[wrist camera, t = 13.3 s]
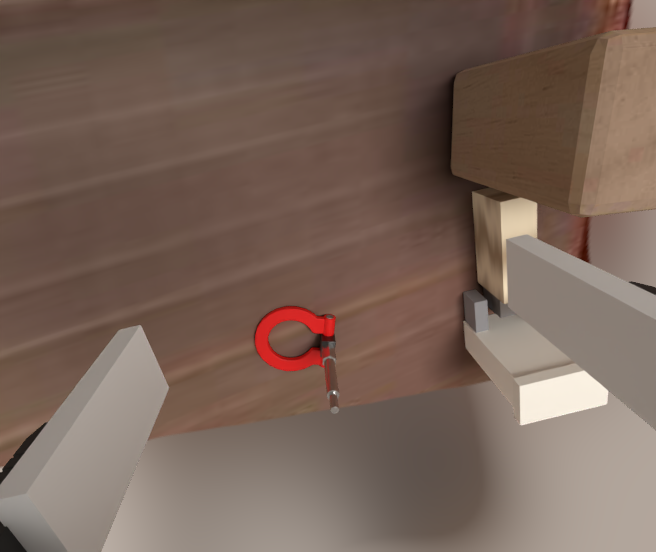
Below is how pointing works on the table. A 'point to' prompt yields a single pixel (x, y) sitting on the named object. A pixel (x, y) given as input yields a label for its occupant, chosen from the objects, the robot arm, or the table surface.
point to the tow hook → (314, 356)
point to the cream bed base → (526, 365)
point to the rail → (499, 240)
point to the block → (564, 124)
